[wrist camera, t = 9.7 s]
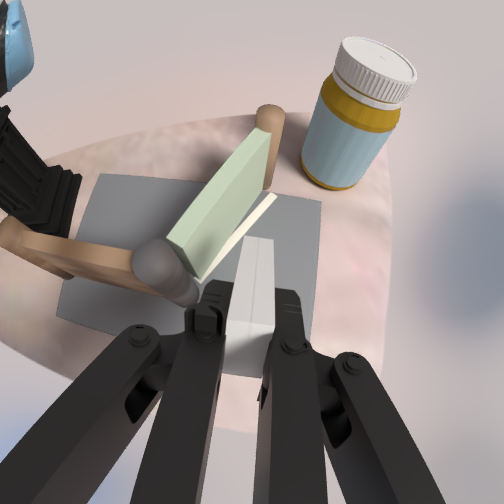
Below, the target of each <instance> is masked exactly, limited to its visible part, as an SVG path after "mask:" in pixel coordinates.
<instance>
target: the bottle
mask: <svg viewBox="0 0 504 504" xmlns="http://www.w3.org/2000/svg"><path fill="white" fill-rule="evenodd" d="M416 81H417V72H416V70H415V68H414V67H413V65H412V64H411V63H410V62H409V61H408V60H407V59H406V58H405V57H403V56H402V55H401V54H400V53H398V52H397V51H395V50H393V49H392V48H390V47H388V46H386V45H384V44H382V43H380V42H377V41H375V40H371V39H368V38H364V37H356V36H354V37H347V38H345V39H344V40H343V41H342V42H341V45H340V48H339V51H338V54H337V57H336V61H335V66H334V69H333V72H332V73H331V74H330V75H329V76H328V77H327V78H326V80H325V81H324V82H323V85H322V88H321V90H320V94H319V97H318V101H317V103H316V107H315V110H314V113H313V116H312V119H311V123H310V126H309V129H308V132H307V135H306V138H305V141H304V145H303V148H302V152H301V164H302V167H303V169H304V171H305V172H306V174H307V175H308V176H309V177H310V178H311V179H312V180H313V181H314V182H316V183H317V184H319V185H321V186H323V187H325V188H328V189H332V190H346V189H349V188H352V187H353V186H354V185H356V184H357V183H358V181H359V180H360V179H361V177H362V176H363V175H364V173H365V172H366V170H367V169H368V167H369V166H370V164H371V163H372V161H373V160H374V158H375V157H376V155H377V154H378V152H379V151H380V149H381V148H382V146H383V145H384V143H385V142H386V140H387V139H388V137H389V135H390V134H391V133H392V131H393V129H394V128H395V126H396V124H397V122H398V120H399V117H400V110H401V105H402V104H403V102H404V100H405V99H406V98H407V97H408V95H409V93H410V92H411V90H412V88H413V86H414V84H415V83H416Z"/></svg>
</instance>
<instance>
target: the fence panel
mask: <svg viewBox="0 0 504 504" xmlns="http://www.w3.org/2000/svg"><path fill="white" fill-rule="evenodd" d="M285 116H286V114H285V112H284V110H283V109H282V108H280V107H278V106H276V105H271V104H268V105H263V106H261V107H259V108H258V110H257V114H256V125H255V129H254V130H253V131H252V132H251V133H250V134H249V135H248V136H247V138H246V139H245V140H244V141H243V142H242V143H241V144H240V145H239V147H238V148H237V149H236V150H235V151H234V152H233V154H232V155H231V156H230V157H229V158H228V159H227V161H226V162H225V163H224V164H223V165H222V167H221V168H220V169H219V170H218V171H217V173H216V174H215V175H214V176H213V177H212V179H211V180H210V181H209V182H208V184H207V185H206V186H205V187H204V189H203V190H202V191H201V192H200V194H199V195H198V196H197V197H196V199H195V200H194V201H193V203H192V204H191V205H190V206H189V208H188V209H187V210H186V212H185V213H184V214H183V216H182V217H181V218H180V219H179V221H178V222H177V223H176V225H175V226H174V227H173V229H172V230H171V232H170V233H169V234H168V236H167V237H166V238H167V240H168V241H169V243H170V244H171V246H172V248H173V249H174V251H175V252H176V254H177V255H178V257H179V258H180V260H181V261H182V263H183V265H184V266H185V268H186V269H187V271H188V272H189V273H190V274H192V275H193V276H195V277H197V278H198V279H200V280H201V279H202V277H203V276H204V274H205V273H206V271H207V270H208V268H209V267H210V265H211V264H212V262H213V261H214V259H215V258H216V256H217V255H218V253H219V252H220V250H221V249H222V247H223V246H224V245H225V243H226V242H227V240H228V239H229V237H230V236H231V234H232V233H233V231H234V230H235V229H236V227H237V226H238V224H239V223H240V221H241V220H242V218H243V217H244V216H245V214H246V213H247V211H248V210H249V208H250V207H251V206H252V204H253V203H254V201H255V200H256V198H257V197H258V196H259V194H260V193H261V191H262V190H266V189H268V188H269V187H270V186H271V183H272V178H273V173H274V169H275V164H276V159H277V154H278V150H279V145H280V140H281V135H282V130H283V126H284V121H285Z"/></svg>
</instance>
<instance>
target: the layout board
mask: <svg viewBox="0 0 504 504" xmlns="http://www.w3.org/2000/svg"><path fill="white" fill-rule="evenodd" d="M207 184H208V183H201V182H193V181H184V180H175V179H165V178H154V177H143V176H131V175H117V174H101V173H100V175H99V178H98V180H97V182H96V185H95V187H94V190H93V192H92V195H91V197H90V200H89V202H88V205H87V207H86V210H85V213H84V215H83V218H82V221H81V224H80V227H79V230H78V233H77V236H76V239H75V240H77V241H82V242H87V243H92V244H98V245H103V246H108V247H114V248H119V249H125V250H130V251H135V250H136V249H137V248H138V247H139V246H140V245H141V244H142V243H143V242H145V241H148V240H151V239H159V240H162V241H164V242H166V243H168V244H169V245H170V247H171V248H172V246H171V244H170V243H169V241H168V240H167V238H166V237H167V236H168V234H169V233H170V232H171V230H172V229H173V227H174V226H175V225H176V223H177V222H178V221H179V219H180V218H181V217H182V216H183V214H184V213H185V212H186V210H187V209H188V208H189V206H190V205H191V204H192V203H193V201H194V200H195V199H196V197H197V196H198V195H199V194H200V192H201V191H202V190H203V189H204V187H205V186H206V185H207ZM320 221H321V201H316V200H311V199H306V198H300V197H295V196H289V195H283V194H277V193H272V192H265V191H261V193H260V194H259V196H258V197H257V198H256V200H255V201H254V203H253V204H252V206H251V207H250V208H249V210H248V211H247V213H246V214H245V216H244V217H243V218H242V220H241V221H240V223H239V224H238V226H237V227H236V229H235V230H234V231H233V233H232V234H231V236H230V237H229V239H228V240H227V242H226V243H225V245H224V246H223V247H222V249H221V250H220V252H219V253H218V255H217V256H216V258H215V259H214V261H213V262H212V264H211V265H210V267H209V268H208V270H207V271H206V273H205V274H204V276H203V277H202V279H201V280H200V279H198V278H197V277H195V276H193V275H192V274H190V273H189V272H188V271H187V272H188V273H189V275H190V276H191V278H192V279H193V281H194V282H195V284H196V285H197V287H198V288H199V291H200V297H199V300H198V302H197V303H199V301H200V299H201V296H202V294H203V290H204V287H205V285H206V284H207V283H208V282H210V281H211V280H212V279H215V280H222V281H228V282H235V278H236V273H237V268H238V263H239V259H240V254H241V249H242V244H243V240H244V235H245V236H252V237H258V238H265V239H272V240H274V284H275V288H282V289H289V290H295V292H296V293H297V294H298V296H299V297H300V301H301V308H302V315H303V322H304V330H305V337H306V339H307V340H308V341H309V342H310V335H311V326H312V318H313V309H314V299H315V289H316V278H317V266H318V253H319V238H320ZM172 249H173V248H172ZM173 251H174V249H173ZM174 252H175V251H174ZM175 254H176V252H175ZM176 255H177V254H176ZM177 257H178V255H177ZM178 258H179V257H178ZM179 260H180V258H179ZM180 261H181V260H180ZM181 263H182V261H181ZM182 264H183V263H182ZM183 266H184V265H183ZM184 267H185V266H184ZM185 269H186V268H185ZM186 270H187V269H186ZM186 309H187V308H182V307H180V306H178V305H176V304H175V303H173V302H172V301H170V300H169V299H167V298H166V297H162V296H157V295H152V294H148V293H143V292H139V291H134V290H130V289H125V288H121V287H117V286H112V285H108V284H104V283H100V282H96V281H92V280H88V279H84V278H80V277H77V276H75V277H74V278H73V279H71V280H65V279H64V281H63V285H62V290H61V294H60V299H59V303H58V308H57V313H56V316H58V317H60V318H63V319H66V320H69V321H71V322H74V323H77V324H80V325H83V326H86V327H89V328H92V329H95V330H98V331H101V332H105V333H108V334H111V335H115V336H118V335H119V334H120V333H121V332H122V331H123V330H125V329H126V328H128V327H129V326H132V325H135V324H145V325H149V326H151V327H153V328H154V329H156V330H157V332H158V333H159V335H173V334H178V333H181V332H183V331H185V329H184V311H185V310H186Z"/></svg>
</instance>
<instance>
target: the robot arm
mask: <svg viewBox="0 0 504 504" xmlns="http://www.w3.org/2000/svg"><path fill="white" fill-rule="evenodd" d="M33 66H34V53H33V47H32V42H31V38H30V33H29V28H28V24H27V19H26V15H25V12H24V8H23V6H22V4H21V1H20V0H15V1H11V2H10V3H9V4H6V2H5V0H0V98H1V97H2V96H3V95H4V94H5V93H7V92H10V91H11V90H12V88H13V87H14V86H15V85H16V84H18V83H19V82H20V81H21V80H23V79H24V78H25V77H26V76H27V75H28V74H29V73H30V72H31V70H32V68H33ZM184 329H185V331H183V332H181V333H178V334H173V335H159V333H158V332H157V330H156V329H154V328H153V327H151V326H149V325H145V324H135V325H132V326H129V327H128V328H126V329H125V330H123V331H122V332H121V333H120V334H119V335H118V336H117V337H116V338H115V339H114V340H113V341H112V342H111V343H110V344H109V345H108V346H107V347H106V348H105V349H104V350H103V351H102V352H101V354H100V355H99V356H98V357H97V358H96V359H95V360H94V361H93V362H92V363H91V364H90V365H89V366H88V367H87V368H86V369H85V370H84V371H83V372H82V373H81V374H80V375H79V376H78V377H77V378H76V379H75V380H74V382H73V383H72V384H71V385H70V386H69V387H68V388H67V389H66V390H65V391H64V392H63V393H62V394H61V395H60V397H58V399H57V400H56V401H55V402H54V403H53V404H52V405H51V406H50V407H49V408H48V409H47V411H46V412H45V413H44V414H43V415H42V416H41V417H40V418H39V420H38V421H37V422H36V423H35V424H34V425H33V426H32V427H31V428H30V430H29V431H28V432H27V433H26V434H25V435H24V436H23V438H22V439H21V440H20V441H19V442H18V443H17V444H16V446H15V447H14V448H13V449H12V450H11V451H10V453H9V454H8V455H7V456H6V457H5V458H4V460H3V461H2V462H1V463H0V504H87V503H88V501H89V500H90V498H91V497H92V496H93V494H94V493H95V491H96V490H97V489H98V487H99V486H100V484H101V483H102V481H103V480H104V478H105V477H106V476H107V474H108V473H109V471H110V470H111V469H112V467H113V466H114V464H115V463H116V461H117V460H118V459H119V457H120V456H121V454H122V453H123V451H124V450H125V449H126V447H127V446H128V444H129V443H130V441H131V440H132V438H133V437H134V436H135V434H136V433H137V431H138V430H139V428H140V427H141V425H142V424H143V423H144V421H145V420H146V418H147V417H148V415H149V414H150V412H151V411H152V410H153V408H154V407H155V405H156V404H157V402H158V401H159V399H160V398H161V396H162V398H161V401H160V404H159V407H158V410H157V413H156V416H155V420H154V423H153V426H152V429H151V432H150V435H149V439H148V442H147V445H146V448H145V452H144V455H143V458H142V462H141V465H140V469H139V472H138V476H137V479H136V482H135V486H134V490H133V493H132V497H131V501H130V504H200V502H201V496H202V489H203V484H204V478H205V471H206V466H207V459H208V454H209V448H210V442H211V436H212V429H213V424H214V418H215V412H216V406H217V400H218V395H219V389H220V381H221V374H222V373H225V374H231V375H238V376H246V377H254V378H261V377H262V374H263V380H262V385H261V389H260V392H259V395H258V399H257V401H259V417H258V433H257V449H256V464H255V478H254V492H253V504H328V497H327V481H326V467H325V455H324V445H325V448H326V451H327V453H328V456H329V459H330V461H331V464H332V467H333V469H334V472H335V475H336V477H337V480H338V483H339V485H340V488H341V490H342V493H343V496H344V499H345V501H346V504H446V503H445V501H444V499H443V497H442V495H441V493H440V491H439V488H438V487H437V485H436V482H435V480H434V479H433V476H432V474H431V473H430V471H429V469H428V467H427V465H426V463H425V461H424V459H423V457H422V455H421V453H420V451H419V450H418V448H417V446H416V444H415V442H414V440H413V438H412V437H411V435H410V433H409V431H408V429H407V427H406V426H405V424H404V422H403V420H402V419H401V417H400V415H399V413H398V411H397V410H396V408H395V406H394V404H393V403H392V401H391V399H390V397H389V396H388V394H387V392H386V391H385V389H384V387H383V385H382V384H381V382H380V380H379V378H378V377H377V375H376V373H375V372H374V370H373V368H372V367H371V365H370V363H369V362H368V361H367V360H366V359H365V358H364V357H363V356H361V355H359V354H357V353H354V352H344V353H341V354H339V355H338V356H337V357H336V358H335V359H334V358H331V357H328V356H325V355H322V354H320V353H318V352H316V351H315V350H313V349H312V346H311V344H310V342H309V341H308V340H307V339H306V337H305V330H304V322H303V315H302V308H301V301H300V297H299V296H298V294H297V293H296V292H295V290H289V289H282V288H275V284H274V240H272V239H265V238H258V237H252V236H245V235H244V240H243V244H242V249H241V254H240V259H239V263H238V268H237V273H236V278H235V282H228V281H222V280H215V279H212V280H211V281H210V282H208V283H207V284H206V285H205V287H204V290H203V294H202V296H201V299H200V301H199V303H195V304H192V305H191V306H189V307H187V309H186V310H185V311H184Z"/></svg>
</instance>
